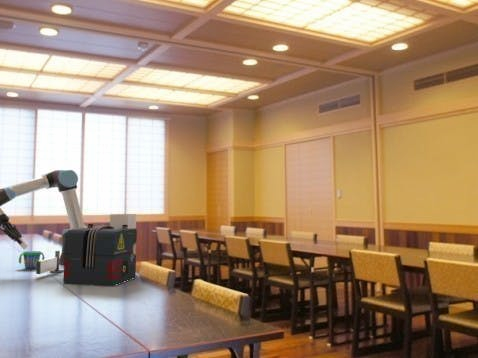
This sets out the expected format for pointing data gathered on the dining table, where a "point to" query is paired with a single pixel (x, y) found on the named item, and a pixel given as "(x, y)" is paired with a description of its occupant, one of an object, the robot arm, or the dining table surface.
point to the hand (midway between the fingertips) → (25, 247)
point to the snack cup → (31, 258)
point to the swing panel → (46, 265)
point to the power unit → (99, 255)
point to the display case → (123, 222)
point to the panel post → (57, 254)
